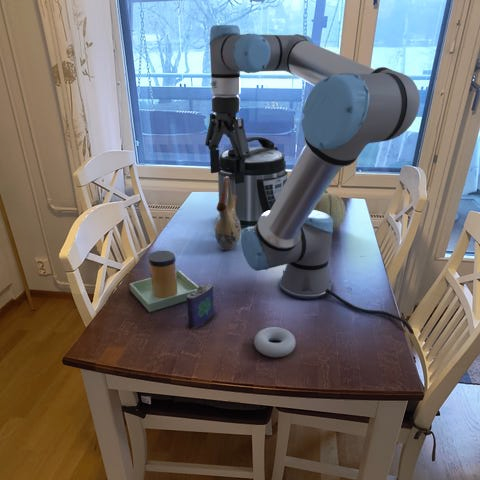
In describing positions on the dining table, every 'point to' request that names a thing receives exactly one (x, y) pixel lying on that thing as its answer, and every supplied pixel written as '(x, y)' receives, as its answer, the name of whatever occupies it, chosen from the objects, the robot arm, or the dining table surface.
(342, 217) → the cantaloupe
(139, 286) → the serving tray
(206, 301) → the flask
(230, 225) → the ceramic vessel
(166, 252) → the jar
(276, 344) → the donut
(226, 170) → the pressure cooker
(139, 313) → the dining table surface
